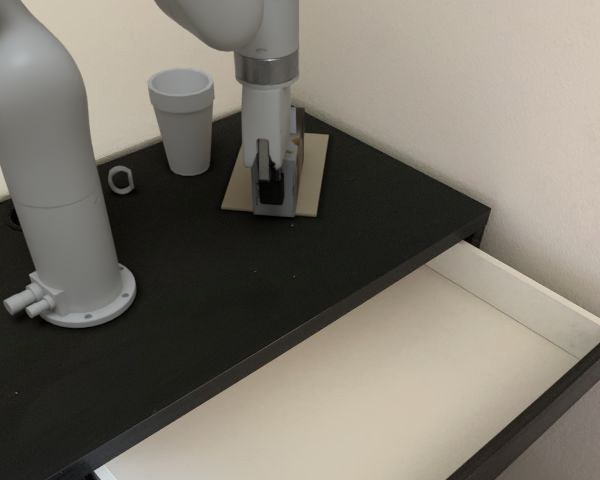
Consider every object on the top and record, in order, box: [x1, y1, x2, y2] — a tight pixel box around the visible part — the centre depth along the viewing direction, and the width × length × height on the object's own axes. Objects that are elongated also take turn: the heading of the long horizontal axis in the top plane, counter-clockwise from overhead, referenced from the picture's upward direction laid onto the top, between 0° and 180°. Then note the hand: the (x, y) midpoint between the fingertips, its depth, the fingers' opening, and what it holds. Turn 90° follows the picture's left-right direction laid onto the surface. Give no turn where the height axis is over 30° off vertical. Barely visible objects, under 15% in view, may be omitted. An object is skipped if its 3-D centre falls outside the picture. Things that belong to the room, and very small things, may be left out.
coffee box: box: [251, 106, 306, 218], centre depth 97 cm, size 9×6×16 cm
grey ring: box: [107, 165, 135, 195], centre depth 98 cm, size 4×2×4 cm, turn 105°
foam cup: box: [146, 67, 216, 177], centre depth 100 cm, size 10×9×13 cm
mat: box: [220, 132, 330, 218], centre depth 104 cm, size 24×14×1 cm, turn 174°
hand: (272, 201), depth 90 cm, fingers closed
